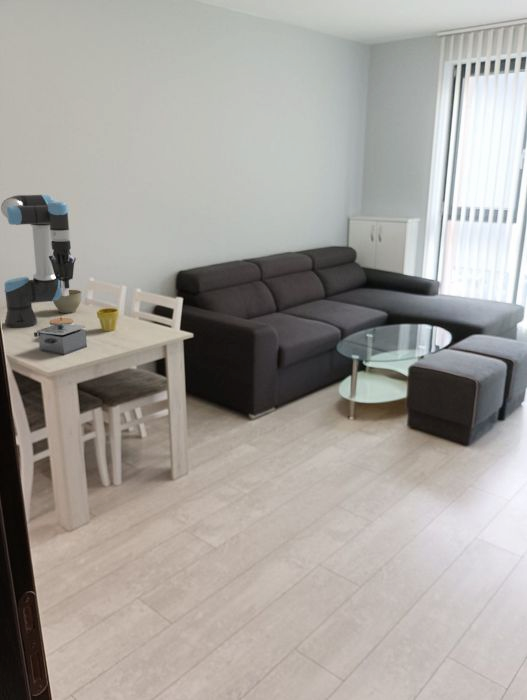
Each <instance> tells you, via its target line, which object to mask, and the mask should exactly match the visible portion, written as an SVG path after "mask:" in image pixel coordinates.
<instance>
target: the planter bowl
mask: <svg viewBox="0 0 527 700" xmlns="http://www.w3.org/2000/svg"><path fill="white" fill-rule="evenodd" d="M82 293H83V292H82V291H81V290H79V289H78V290H77V289H69V295H68V296H62V290H61V296H60V298H59V299H58V300H55V301H52V302H53V305H54V306H55V308H56V309H57V310H58V312H59V313H63V314H67V313H68V314H69V313H70V312H71V313H75V312H77V311H78V308H79V306H80V305H81V303H82V302H81V301H82ZM76 310H77V311H76ZM74 311H75V312H74Z"/></svg>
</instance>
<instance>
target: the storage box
mask: <svg viewBox="0 0 527 700" xmlns="http://www.w3.org/2000/svg"><path fill="white" fill-rule="evenodd" d="M86 331H87V330H86V329H85V328H82V329H79V330H76V331H73V332H70V333H67V334H64V335H56V334H46V333H37V331H34V332H33V336H34V337H35V338H37V337H38V343H39V344H38V345H39V351H40V352H45V353H50V354H55V355H61V356H66V355H69V354H71V353H74V352H75V353H76V352H77V351H79V350H82V349H85V348H87V347H88V343H87V342H88V341H87V332H86Z"/></svg>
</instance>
